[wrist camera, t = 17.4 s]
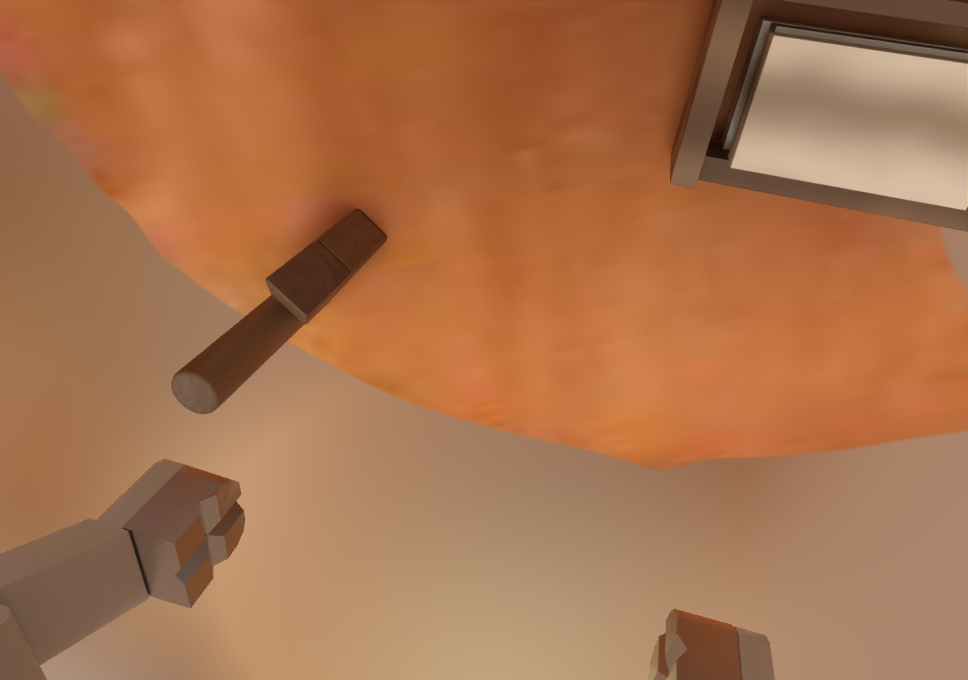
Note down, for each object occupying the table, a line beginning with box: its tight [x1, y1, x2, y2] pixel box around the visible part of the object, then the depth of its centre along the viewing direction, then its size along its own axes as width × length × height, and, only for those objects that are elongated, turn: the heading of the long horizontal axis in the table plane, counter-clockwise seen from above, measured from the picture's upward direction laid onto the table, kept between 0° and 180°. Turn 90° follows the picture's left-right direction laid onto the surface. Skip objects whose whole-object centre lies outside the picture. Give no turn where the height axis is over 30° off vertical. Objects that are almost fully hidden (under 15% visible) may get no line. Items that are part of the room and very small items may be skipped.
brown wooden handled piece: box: [171, 210, 386, 414], centre depth 48 cm, size 4×11×18 cm, turn 138°
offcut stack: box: [721, 17, 968, 210], centre depth 36 cm, size 8×13×8 cm, turn 84°
